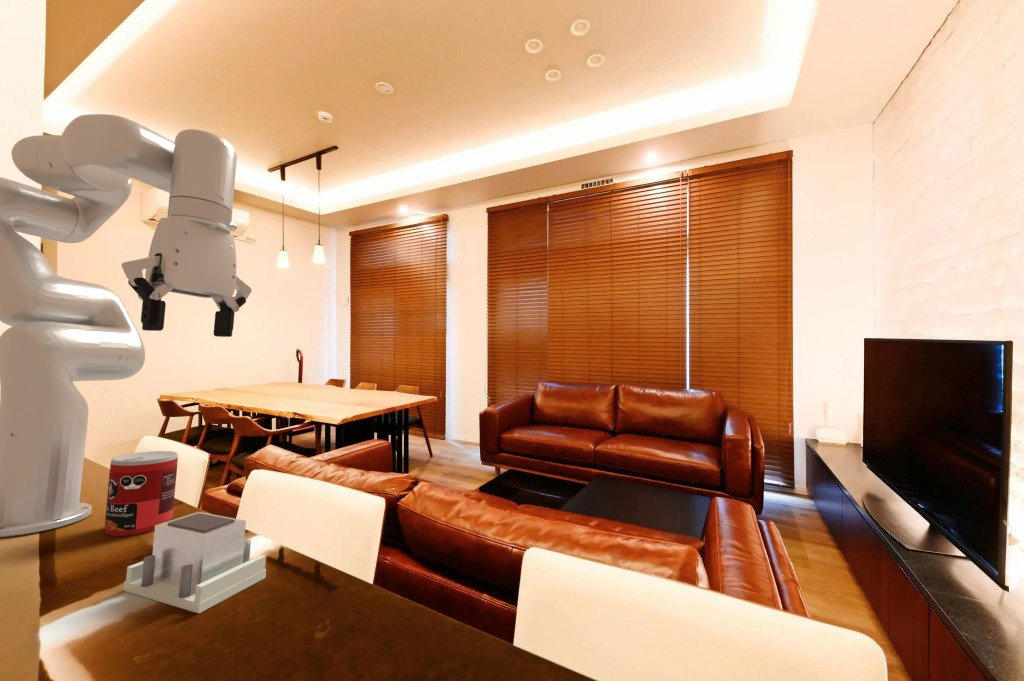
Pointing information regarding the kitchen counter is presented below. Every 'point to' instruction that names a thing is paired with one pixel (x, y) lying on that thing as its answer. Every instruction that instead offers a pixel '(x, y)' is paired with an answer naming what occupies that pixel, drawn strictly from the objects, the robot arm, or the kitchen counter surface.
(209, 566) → the box
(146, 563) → the tray
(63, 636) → the kitchen counter surface
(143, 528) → the canned food
